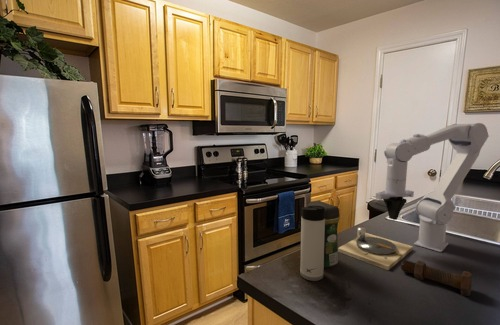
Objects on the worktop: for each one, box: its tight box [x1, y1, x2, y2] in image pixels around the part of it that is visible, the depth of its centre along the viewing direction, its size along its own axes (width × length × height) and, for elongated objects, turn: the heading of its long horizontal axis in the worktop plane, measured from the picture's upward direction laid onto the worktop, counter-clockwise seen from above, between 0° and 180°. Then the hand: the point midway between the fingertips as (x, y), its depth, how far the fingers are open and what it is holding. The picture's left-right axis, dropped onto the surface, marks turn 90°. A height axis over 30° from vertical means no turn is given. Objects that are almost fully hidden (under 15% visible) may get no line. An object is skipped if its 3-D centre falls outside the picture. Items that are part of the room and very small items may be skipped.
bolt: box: [400, 259, 473, 297], centre depth 69 cm, size 6×5×15 cm
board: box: [338, 232, 414, 271], centre depth 87 cm, size 20×16×2 cm
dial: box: [356, 226, 396, 255], centre depth 87 cm, size 12×12×5 cm
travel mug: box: [299, 206, 325, 282], centre depth 71 cm, size 6×7×20 cm
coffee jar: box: [307, 200, 341, 268], centre depth 79 cm, size 10×8×19 cm
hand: (393, 218), depth 88 cm, fingers closed
